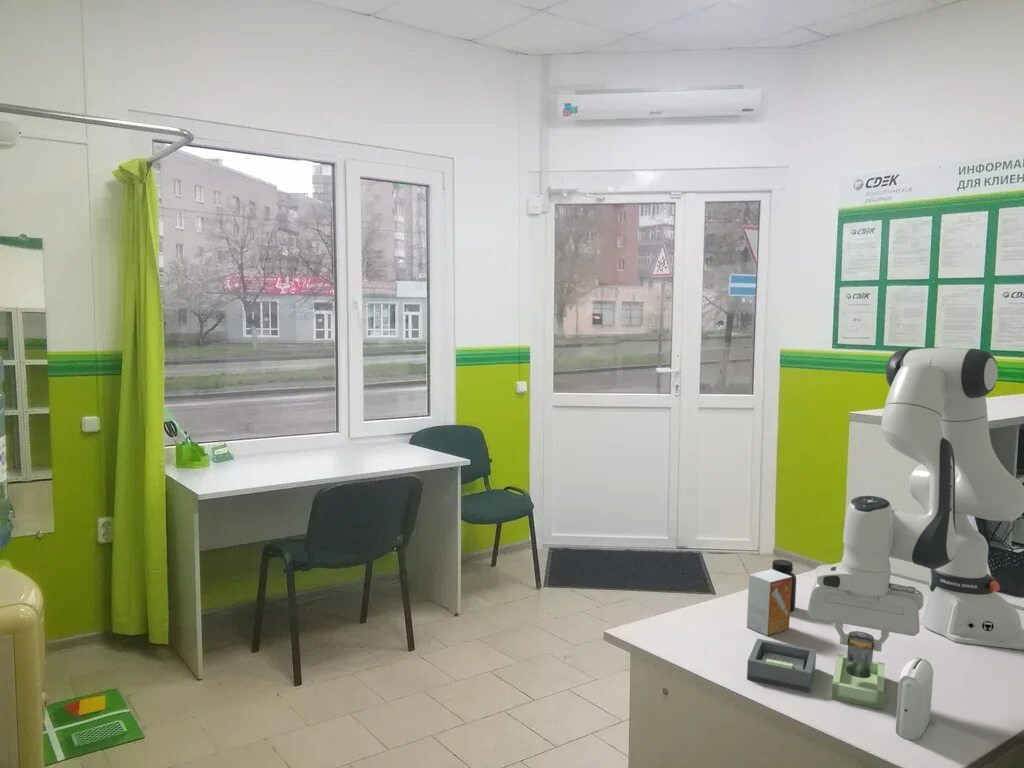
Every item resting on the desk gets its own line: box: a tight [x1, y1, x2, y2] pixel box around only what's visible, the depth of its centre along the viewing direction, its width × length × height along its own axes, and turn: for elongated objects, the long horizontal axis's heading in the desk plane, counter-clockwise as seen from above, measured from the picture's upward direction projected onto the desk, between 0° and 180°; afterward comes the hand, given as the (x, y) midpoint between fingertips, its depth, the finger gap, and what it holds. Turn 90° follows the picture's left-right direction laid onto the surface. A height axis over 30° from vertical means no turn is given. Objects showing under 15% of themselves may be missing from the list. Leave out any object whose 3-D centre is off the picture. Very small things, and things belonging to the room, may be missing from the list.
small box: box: [746, 568, 792, 637], centre depth 184 cm, size 8×6×13 cm
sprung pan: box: [762, 652, 805, 669], centre depth 161 cm, size 8×8×1 cm
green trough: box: [831, 653, 886, 711], centre depth 156 cm, size 9×15×3 cm, turn 154°
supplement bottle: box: [771, 559, 797, 613], centre depth 197 cm, size 7×7×12 cm
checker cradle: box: [746, 638, 817, 694], centre depth 161 cm, size 12×12×5 cm
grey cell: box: [846, 630, 875, 678], centre depth 155 cm, size 5×5×8 cm
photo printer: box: [895, 657, 934, 741], centre depth 141 cm, size 10×4×12 cm, turn 140°
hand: (860, 646), depth 155 cm, fingers closed on grey cell, 5 cm apart
